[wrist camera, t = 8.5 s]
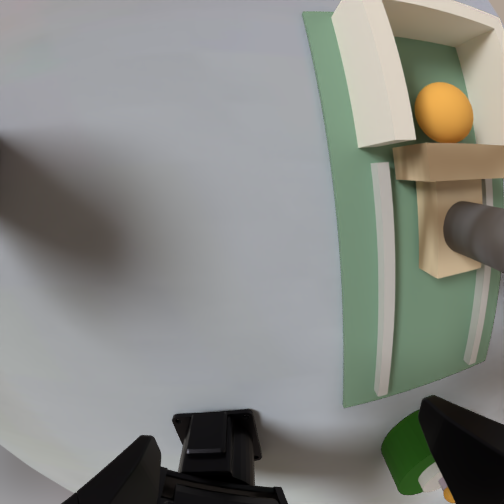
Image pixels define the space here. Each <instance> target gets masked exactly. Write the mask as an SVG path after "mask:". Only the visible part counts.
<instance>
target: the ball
mask: <svg viewBox="0 0 504 504" xmlns="http://www.w3.org/2000/svg"><path fill="white" fill-rule="evenodd" d="M414 108H415V117H416V120H417V123H418V125H419V126H420V128H421V129H422V131H423V132H424V133H425V134H426V135H427V136H428V137H429V138H431V139H432V140H434V141H436V142H439V143H457V142H459V141H461V140H463V139H464V138H465V137H466V136H467V135H468V134H469V132H470V130H471V128H472V125H473V118H474V117H473V109H472V106H471V104H470V102H469V100H468V98H467V97H466V95H465V94H464V93H463V92H462V91H461V90H460V89H458V88H457V87H455V86H454V85H451V84H448V83H445V82H435V83H431V84H429V85H427V86H425V87H424V88H423V89H422V90H421V91H420V92H419V94H418V96H417V98H416V101H415V107H414Z"/></svg>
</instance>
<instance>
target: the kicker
mask: <svg viewBox="0 0 504 504" xmlns="http://www.w3.org/2000/svg"><path fill="white" fill-rule="evenodd" d="M392 149H393V157H394V165H395V174H396V180H412V181H416V191H417V206H418V228H419V268H420V269H421V270H423V271H425V272H427V273H428V274H430V275H432V276H433V277H435V278H437V279H439V278H443V277H447V276H451V275H455V274H459V273H463V272H467V271H471V270H475V269H479V268H481V263H482V264H485V265H487V266H489V267H491V268H493V269H496V270H498V271H500V272H502V273H504V209H503V208H498V207H493V206H488V205H483V203H482V181H481V179H493V178H504V146H502V145H487V144H466V143H421V144H414V145H407V146H401V147H394V148H392Z"/></svg>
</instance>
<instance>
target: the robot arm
mask: <svg viewBox="0 0 504 504" xmlns="http://www.w3.org/2000/svg"><path fill="white" fill-rule="evenodd" d="M244 415H249V416H244ZM177 419H179V420H177ZM418 420H419V423H420V426H421V428H422V431H423V434H424V436H425V439H426V442H427V444H428V447H429V450H430V452H431V454H432V456H433V458H434V460H435V462H436V464H437V466H438V468H439V470H440V472H441V474H442V476H443V478H444V480H445V482H446V484H447V486H448V488H449V490H450V492H451V494H452V496H453V499H454V501H455V503H456V504H504V425H503V424H501V423H498V422H496V421H493V420H491V419H488V418H486V417H484V416H481V415H479V414H476V413H474V412H472V411H469V410H467V409H465V408H462V407H460V406H458V405H455V404H453V403H451V402H449V401H446V400H444V399H442V398H440V397H437V396H435V395H431V396H428V397H425V398H423V400H422V402H421V406H420V410H419V413H418ZM172 422H173V424H174V426H175V429H176V431H177V433H178V436H179V438H180V440H181V442H182V445H183V448H182V453H181V458H180V463H179V469H178V472H175V471H171V470H168V469H167V468H164V467H161V466H160V465H161V452H160V449H159V447H158V445H157V443H156V440H155V438H154V437H153V436H150V435H141V436H140V437H138V438H137V439H136V440H135V441H134V442H133V443H132V444H131V445H130V446H129V447H127V448H126V449H125V450H124V451H123V452H122V453H121V454H120V455H118V456H117V457H116V458H115V459H114V460H113V461H112V462H111V463H109V464H108V465H107V466H106V467H105V468H104V469H103V470H101V471H100V472H99V473H98V474H97V475H96V476H94V477H93V478H92V479H91V480H90V481H89V482H87V483H86V484H85V485H84V486H83V487H82V488H80V489H79V490H78V491H77V493H74V494H73V495H72V496H71V497H69V498H68V499H67V500H65V501H64V502H63V503H62V504H288V503H287V500H286V498H285V495H284V493H283V490H282V488H281V487H273V488H272V487H262V486H255V475H254V461H256V460H260V459H261V458H262V453H261V449H260V444H259V440H258V435H257V430H256V426H255V421H254V416H253V413H252V411H251V410H248V409H245V410H235V411H223V412H210V413H192V414H175V415H174V416H173V419H172Z"/></svg>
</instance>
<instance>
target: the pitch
mask: <svg viewBox="0 0 504 504" xmlns="http://www.w3.org/2000/svg"><path fill="white" fill-rule="evenodd" d="M302 16H303V20H304V24H305V29H306V33H307V37H308V41H309V46H310V50H311V55H312V59H313V64H314V69H315V74H316V79H317V84H318V89H319V94H320V100H321V105H322V111H323V117H324V123H325V129H326V136H327V142H328V149H329V156H330V164H331V171H332V179H333V188H334V196H335V206H336V215H337V226H338V238H339V250H340V265H341V282H342V303H343V342H344V377H343V407H344V408H347V407H351V406H355V405H359V404H363V403H367V402H371V401H375V400H378V399H382V398H385V397H389V396H392V395H395V394H399V393H402V392H405V391H408V390H411V389H414V388H417V387H420V386H423V385H426V384H429V383H431V382H434V381H437V380H440V379H442V378H445V377H447V376H450V375H453V374H455V373H458V372H460V371H462V370H465V369H467V368H469V367H472V366H474V365H476V364H479V363H481V362H483V361H485V359H486V355H487V351H488V346H489V342H490V337H491V333H492V328H493V323H494V317H495V312H496V306H497V299H498V292H499V284H500V275H501V272H500V271H498V270H496V269H493V268H491V267H489V266H487V265H485V264H482V263H481V268H479V269H475V270H471V271H467V272H463V273H459V274H455V275H451V276H447V277H443V278H439V279H437V278H435V277H433V276H432V275H430V274H428V273H427V272H425V271H423V270H421V269H420V268H419V228H418V206H417V191H416V181H412V180H396V174H395V165H394V157H393V149H392V148H394V147H401V146H407V145H414V144H421V143H439V142H436V141H434V140H432V139H431V138H429V137H428V136H427V135H426V134H425V133H424V132H423V131H422V129H421V128H420V126H419V125H418V123H417V120H416V117H415V108H414V107H415V101H416V98H417V96H418V94H419V92H420V91H421V90H422V89H423V88H424V87H425V86H427V85H429V84H431V83H435V82H445V83H448V84H451V85H454V86H455V87H457V88H458V89H460V90H461V91H462V92H463V93H464V94H465V95H466V97H467V98H468V100H469V102H470V104H471V106H472V109H473V117H474V118H473V125H472V128H471V130H470V132H469V134H468V135H467V136H466V137H465V138H464V139H463V140H461V141H459V142H457V143H466V144H487V145H502V146H504V29H503V26H502V24H501V21H500V19H499V18H498V17H496V16H493V15H491V14H489V13H486V12H484V11H481V10H478V9H476V8H473V7H471V6H468V5H465V4H462V3H459V2H456V1H453V0H341V2H340V3H339V5H338V7H337V8H336V10H335V12H303V13H302ZM481 181H482V203H483V205H488V206H493V207H498V208H503V209H504V196H503V178H493V179H481Z"/></svg>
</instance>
